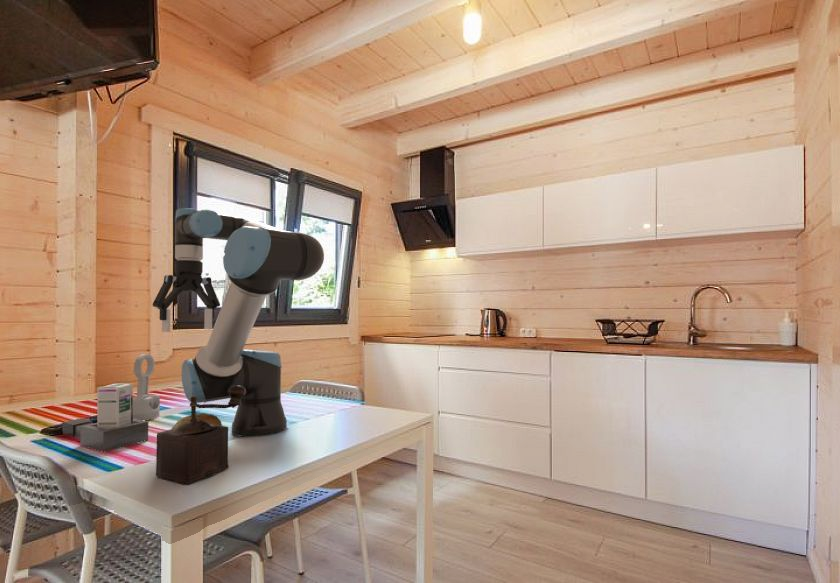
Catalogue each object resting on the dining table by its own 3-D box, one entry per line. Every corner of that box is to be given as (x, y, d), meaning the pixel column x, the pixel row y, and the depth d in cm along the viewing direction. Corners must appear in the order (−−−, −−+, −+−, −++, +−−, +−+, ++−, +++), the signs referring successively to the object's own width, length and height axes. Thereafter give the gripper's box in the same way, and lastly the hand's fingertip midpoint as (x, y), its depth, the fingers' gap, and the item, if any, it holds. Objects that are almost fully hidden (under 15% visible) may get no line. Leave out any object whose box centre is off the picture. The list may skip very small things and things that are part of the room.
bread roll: (233, 439, 121) (233, 409, 121) (184, 456, 107) (184, 423, 108) (207, 435, 125) (208, 406, 125) (157, 451, 111) (157, 419, 112)
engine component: (115, 421, 139) (147, 421, 139) (116, 356, 140) (148, 356, 140) (138, 413, 150) (167, 413, 150) (139, 352, 151) (168, 352, 151)
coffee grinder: (189, 486, 90) (190, 396, 90) (154, 477, 94) (155, 392, 95) (249, 462, 104) (250, 384, 104) (216, 455, 108) (217, 380, 109)
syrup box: (118, 443, 115) (118, 386, 115) (95, 443, 115) (97, 386, 116) (133, 436, 121) (134, 382, 121) (112, 436, 121) (113, 382, 121)
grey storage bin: (148, 440, 120) (148, 421, 120) (103, 452, 111) (103, 431, 111) (93, 426, 134) (93, 410, 134) (49, 436, 124) (49, 418, 124)
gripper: (216, 264, 148) (216, 328, 147) (139, 257, 126) (138, 332, 125) (232, 263, 144) (231, 328, 144) (155, 255, 122) (154, 333, 122)
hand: (188, 330), depth 135 cm, fingers open, 13 cm apart
